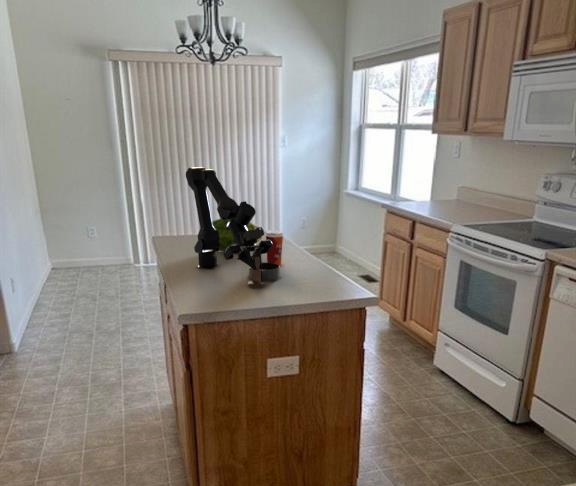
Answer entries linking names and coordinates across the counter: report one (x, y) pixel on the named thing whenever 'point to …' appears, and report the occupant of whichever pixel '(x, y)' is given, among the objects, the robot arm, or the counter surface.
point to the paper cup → (275, 247)
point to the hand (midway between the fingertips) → (258, 269)
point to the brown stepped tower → (256, 275)
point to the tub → (267, 272)
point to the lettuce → (228, 233)
